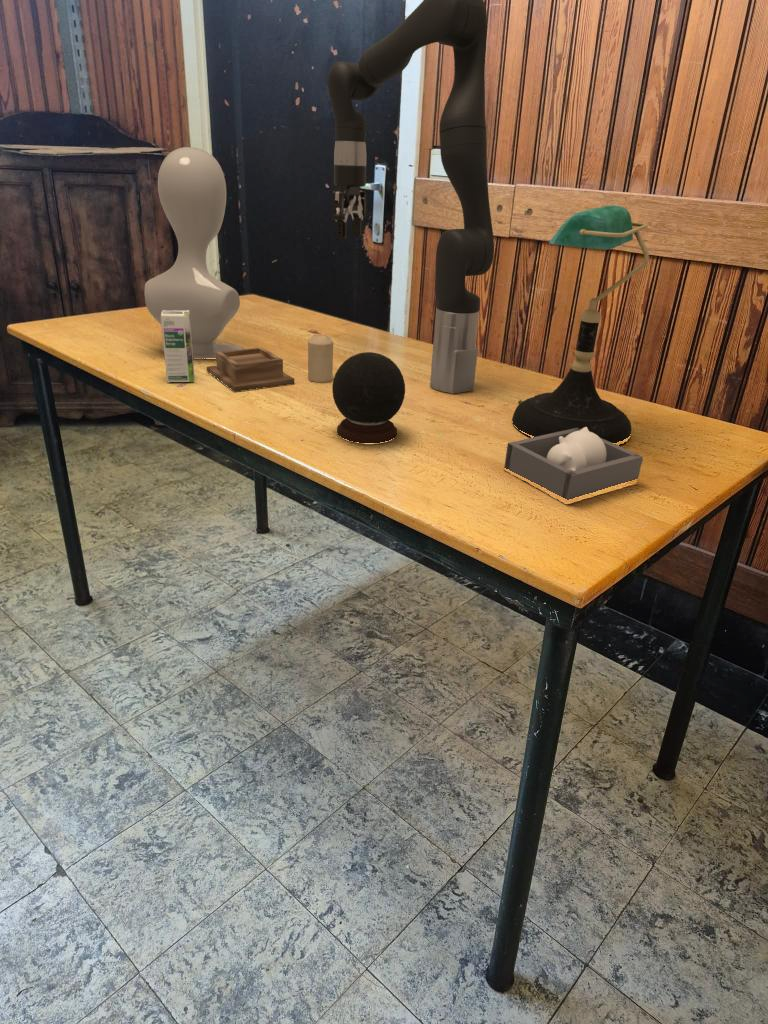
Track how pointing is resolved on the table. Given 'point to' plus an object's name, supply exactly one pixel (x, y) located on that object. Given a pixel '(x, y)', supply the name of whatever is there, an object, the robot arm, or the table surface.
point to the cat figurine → (578, 450)
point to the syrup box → (177, 346)
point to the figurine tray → (535, 467)
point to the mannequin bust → (193, 249)
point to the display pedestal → (249, 369)
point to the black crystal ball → (368, 397)
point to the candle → (320, 358)
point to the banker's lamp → (584, 340)
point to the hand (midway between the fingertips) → (349, 237)
